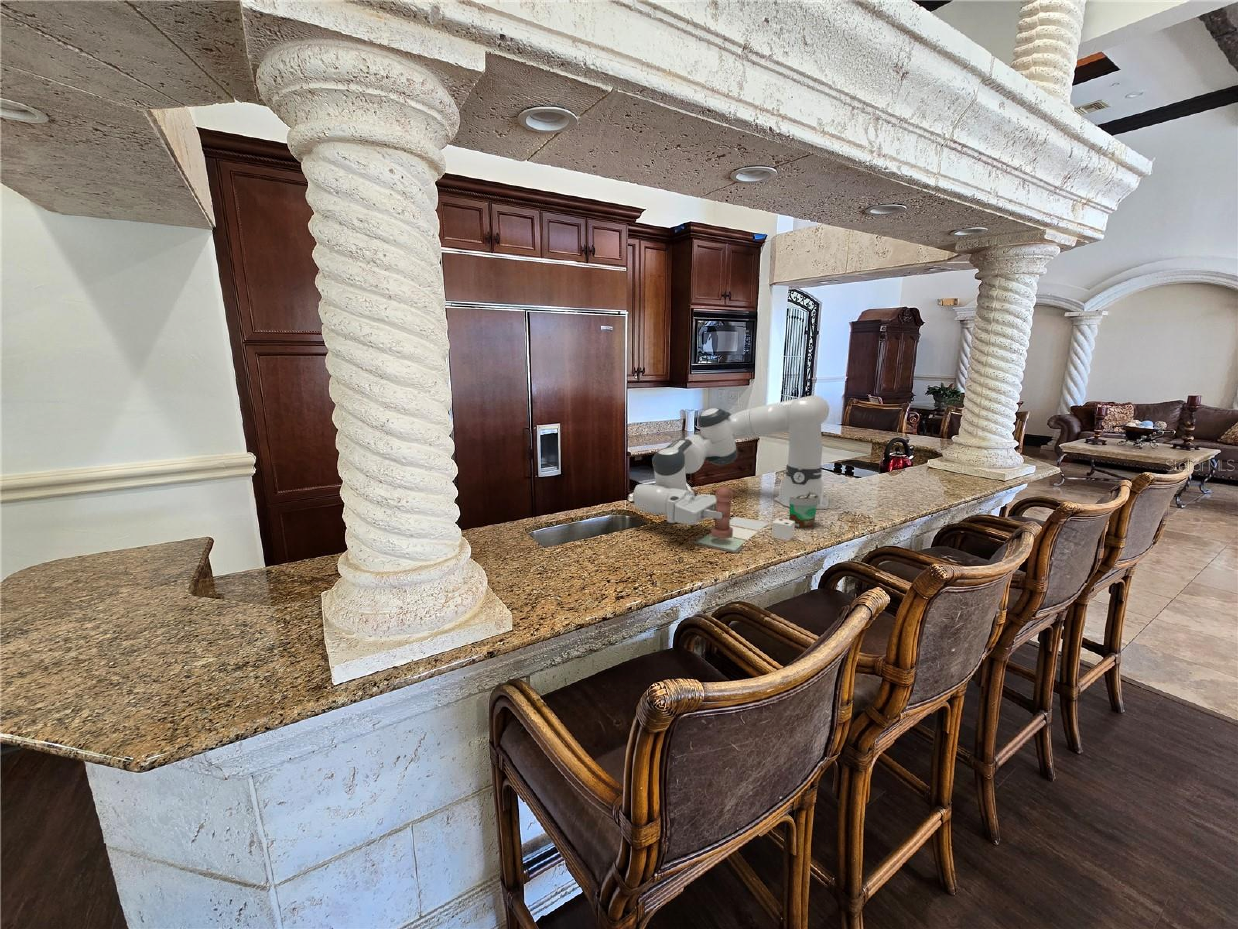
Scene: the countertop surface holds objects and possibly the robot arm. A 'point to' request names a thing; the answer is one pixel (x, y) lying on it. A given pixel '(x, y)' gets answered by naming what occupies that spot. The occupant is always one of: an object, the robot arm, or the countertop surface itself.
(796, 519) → the food container
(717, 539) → the game board
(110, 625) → the countertop surface
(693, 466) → the robot arm
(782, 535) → the die
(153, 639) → the countertop surface
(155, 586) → the countertop surface
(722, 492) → the pawn
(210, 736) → the countertop surface
